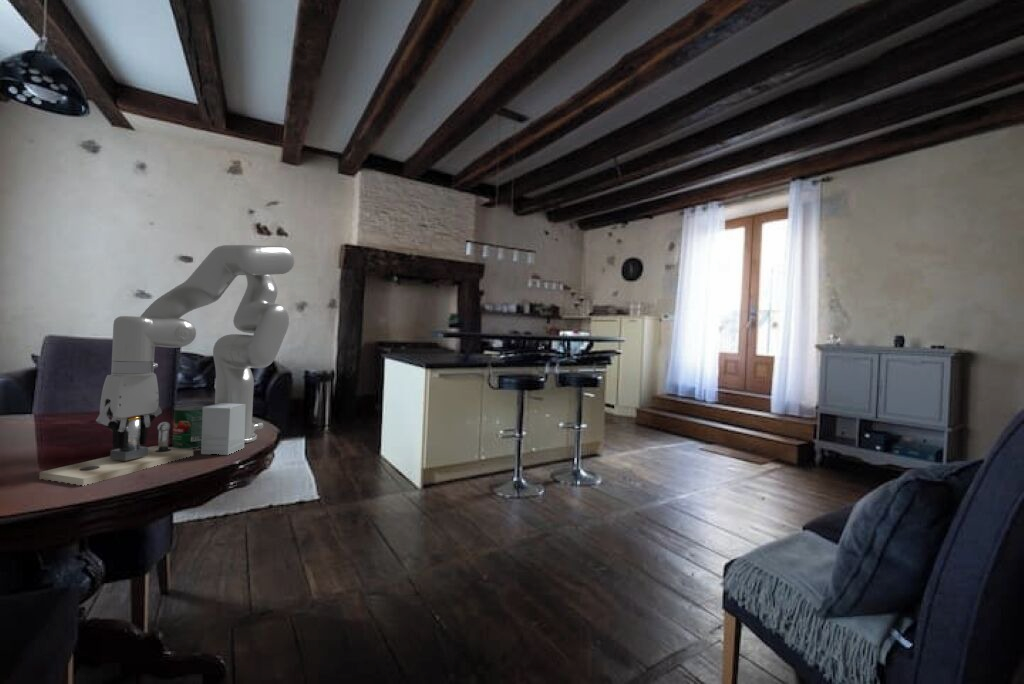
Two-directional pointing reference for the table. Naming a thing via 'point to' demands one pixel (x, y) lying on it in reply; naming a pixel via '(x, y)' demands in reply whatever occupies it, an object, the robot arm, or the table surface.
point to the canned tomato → (187, 426)
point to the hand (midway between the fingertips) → (129, 445)
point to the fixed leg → (163, 436)
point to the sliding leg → (131, 442)
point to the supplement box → (223, 428)
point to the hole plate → (112, 466)
